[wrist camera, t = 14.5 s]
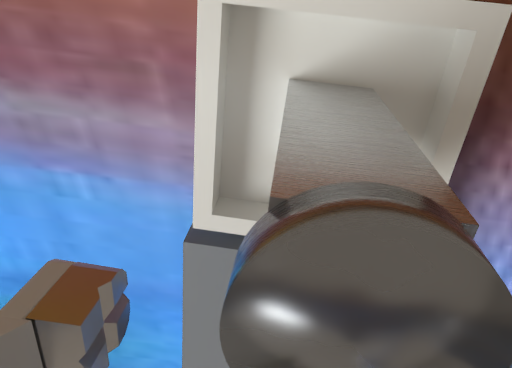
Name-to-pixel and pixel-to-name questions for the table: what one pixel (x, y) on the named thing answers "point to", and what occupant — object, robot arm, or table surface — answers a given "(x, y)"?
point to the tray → (328, 71)
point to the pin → (361, 252)
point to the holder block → (205, 294)
